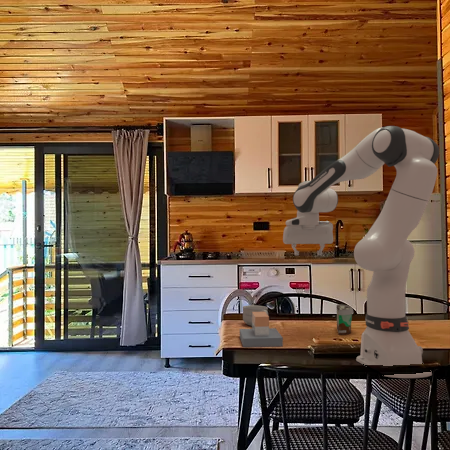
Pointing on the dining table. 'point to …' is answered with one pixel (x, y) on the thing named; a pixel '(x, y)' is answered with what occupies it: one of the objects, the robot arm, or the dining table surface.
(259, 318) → the housing cover
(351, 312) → the food container
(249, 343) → the stand
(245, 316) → the teacup
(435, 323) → the dining table surface
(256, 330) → the housing base
